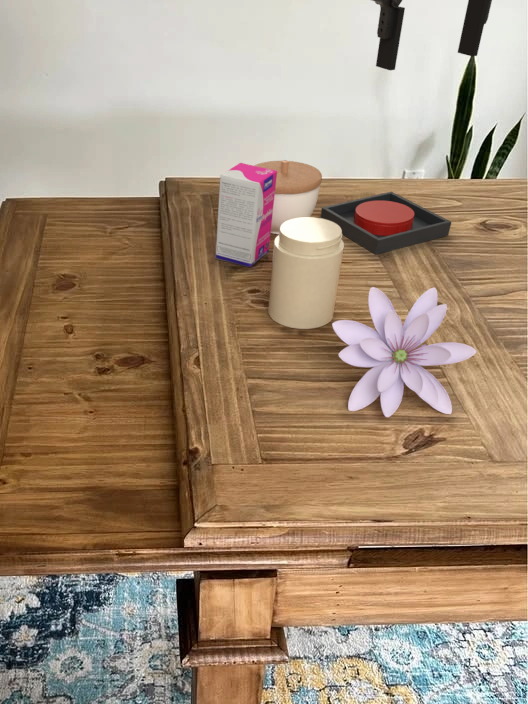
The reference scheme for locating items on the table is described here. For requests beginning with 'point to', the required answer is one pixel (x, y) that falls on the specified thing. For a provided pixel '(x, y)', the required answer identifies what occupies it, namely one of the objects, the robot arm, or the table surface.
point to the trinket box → (293, 191)
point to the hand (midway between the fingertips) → (427, 61)
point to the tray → (421, 231)
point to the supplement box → (245, 214)
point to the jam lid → (384, 217)
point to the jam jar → (305, 272)
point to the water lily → (398, 353)
